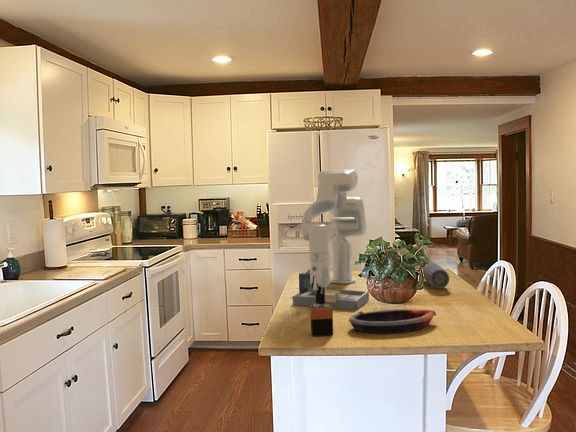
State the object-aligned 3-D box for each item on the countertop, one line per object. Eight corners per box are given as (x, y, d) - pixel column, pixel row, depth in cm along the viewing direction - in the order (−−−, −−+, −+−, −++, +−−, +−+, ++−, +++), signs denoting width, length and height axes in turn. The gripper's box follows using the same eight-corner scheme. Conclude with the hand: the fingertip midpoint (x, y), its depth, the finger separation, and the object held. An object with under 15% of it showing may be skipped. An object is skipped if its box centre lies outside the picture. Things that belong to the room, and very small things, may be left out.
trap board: (308, 295, 221) (308, 287, 220) (368, 299, 209) (368, 291, 209) (293, 304, 206) (292, 295, 205) (356, 309, 194) (356, 300, 194)
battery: (310, 332, 168) (310, 303, 167) (331, 331, 168) (330, 302, 167) (312, 336, 163) (311, 306, 163) (333, 335, 164) (332, 305, 163)
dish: (343, 324, 176) (343, 310, 176) (427, 318, 181) (427, 304, 180) (355, 338, 161) (355, 323, 161) (447, 331, 165) (446, 316, 165)
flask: (319, 292, 226) (319, 268, 225) (320, 293, 223) (319, 269, 222) (299, 292, 227) (298, 269, 226) (299, 294, 224) (298, 270, 223)
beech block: (325, 297, 207) (324, 290, 207) (340, 298, 205) (339, 291, 204) (319, 301, 202) (318, 293, 201) (334, 302, 199) (334, 294, 199)
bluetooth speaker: (417, 280, 243) (417, 260, 242) (437, 280, 243) (437, 259, 242) (429, 291, 220) (428, 268, 220) (450, 290, 220) (450, 268, 219)
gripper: (321, 259, 185) (322, 309, 186) (335, 253, 198) (336, 299, 200) (302, 259, 188) (303, 307, 189) (317, 253, 202) (318, 298, 203)
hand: (320, 303), depth 195 cm, fingers closed
